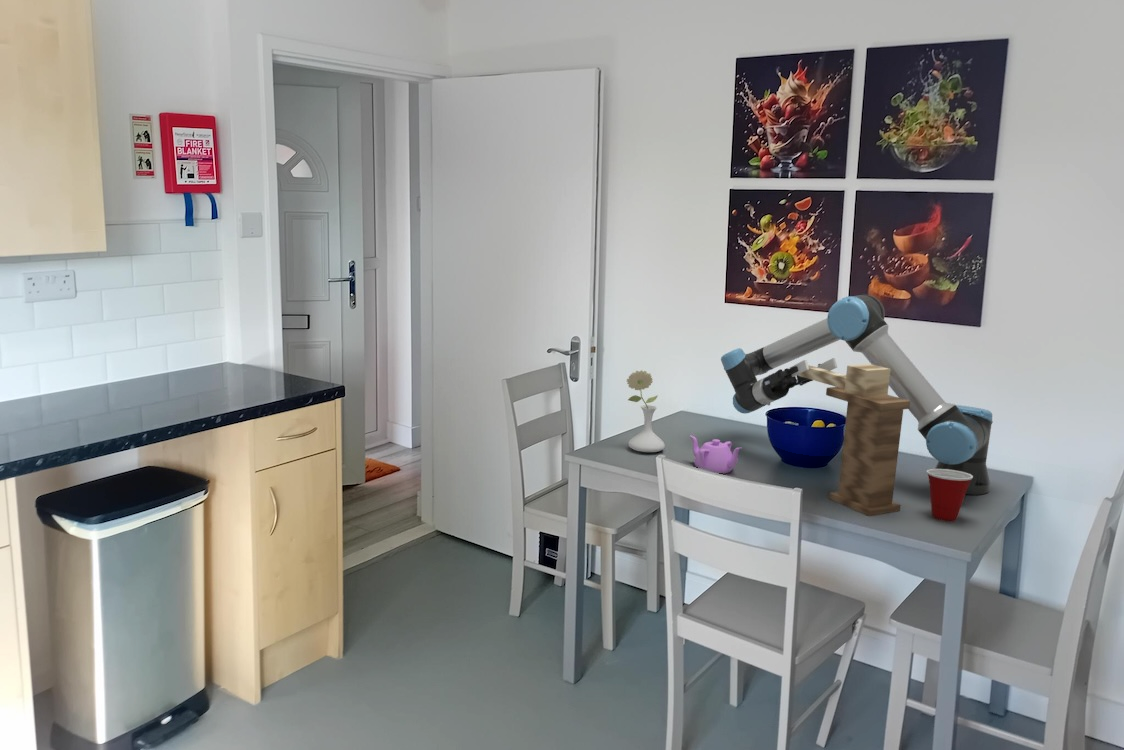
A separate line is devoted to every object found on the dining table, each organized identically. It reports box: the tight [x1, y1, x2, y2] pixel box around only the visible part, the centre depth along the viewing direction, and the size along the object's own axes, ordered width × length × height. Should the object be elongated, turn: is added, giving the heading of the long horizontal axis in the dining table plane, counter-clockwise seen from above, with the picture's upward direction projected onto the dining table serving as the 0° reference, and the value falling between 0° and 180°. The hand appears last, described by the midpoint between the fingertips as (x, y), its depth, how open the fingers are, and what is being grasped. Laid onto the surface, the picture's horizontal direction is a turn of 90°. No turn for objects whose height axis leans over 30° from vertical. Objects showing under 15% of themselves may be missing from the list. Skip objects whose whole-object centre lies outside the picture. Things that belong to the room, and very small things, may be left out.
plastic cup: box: [926, 468, 973, 522], centre depth 222 cm, size 11×11×12 cm
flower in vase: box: [626, 370, 666, 453], centre depth 270 cm, size 13×11×25 cm
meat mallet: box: [796, 363, 891, 398], centre depth 236 cm, size 28×8×7 cm, turn 27°
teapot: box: [689, 434, 742, 475], centre depth 255 cm, size 12×14×9 cm
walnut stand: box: [825, 386, 910, 517], centre depth 230 cm, size 20×11×29 cm, turn 27°
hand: (821, 363), depth 242 cm, fingers open, 9 cm apart
